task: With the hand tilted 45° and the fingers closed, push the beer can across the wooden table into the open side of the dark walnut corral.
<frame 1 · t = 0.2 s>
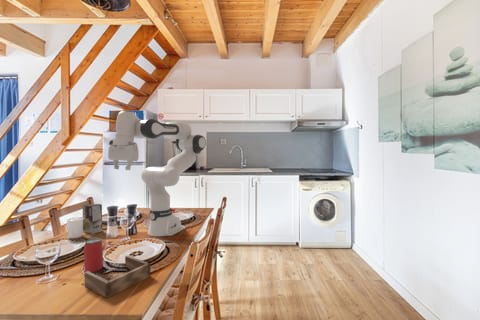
hand: (122, 169, 129), 39 cm above the table, tool pointing down, fingers open, 8 cm apart
white cup: (75, 236, 144), on the table
walnut corral: (118, 280, 96), on the table
beer can: (93, 269, 105), on the table
coffee box: (92, 231, 153), on the table
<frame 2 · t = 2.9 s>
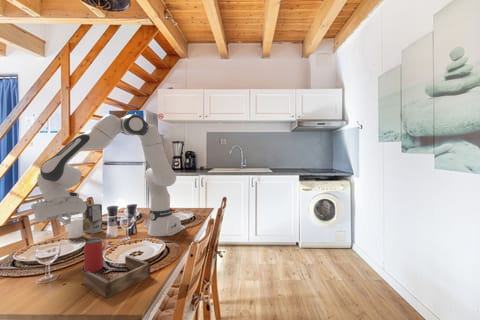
hand: (67, 223, 115), 16 cm above the table, tool tilted 45°, fingers closed
nothing on the table moved.
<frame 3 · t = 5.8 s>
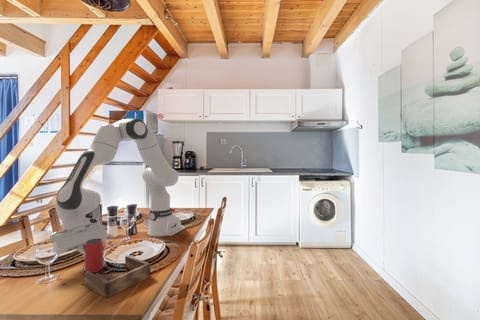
hand: (88, 254, 106), 5 cm above the table, tool tilted 45°, fingers closed, pressing on beer can
beer can: (94, 270, 105), on the table, touching gripper
everything else where it was.
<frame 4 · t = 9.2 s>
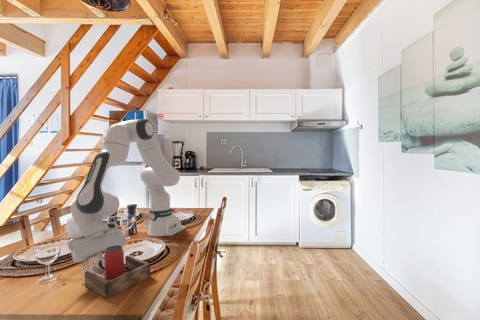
hand: (108, 262, 99), 5 cm above the table, tool tilted 45°, fingers closed
beer can: (114, 279, 97), on the table
everything else where it was.
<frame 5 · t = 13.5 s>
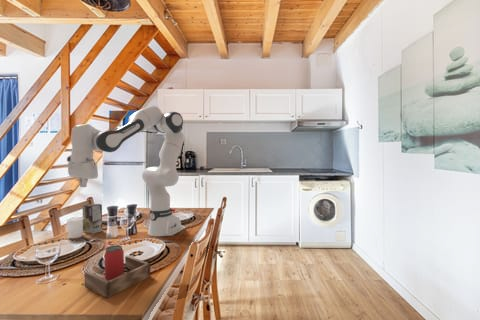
hand: (83, 187, 123), 31 cm above the table, tool pointing down, fingers closed
nothing on the table moved.
at the end: beer can inside the target area (2.3 cm from its centre), on the table; beer can moved 14.5 cm from its start; the gripper is holding nothing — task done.
